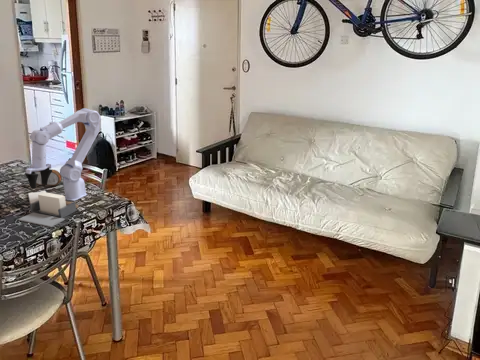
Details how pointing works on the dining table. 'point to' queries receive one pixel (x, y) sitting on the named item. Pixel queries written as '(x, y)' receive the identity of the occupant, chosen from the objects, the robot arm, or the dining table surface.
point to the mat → (41, 219)
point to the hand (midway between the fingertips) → (38, 186)
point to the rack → (62, 211)
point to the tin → (50, 178)
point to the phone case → (34, 196)
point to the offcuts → (70, 203)
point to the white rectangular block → (51, 202)
